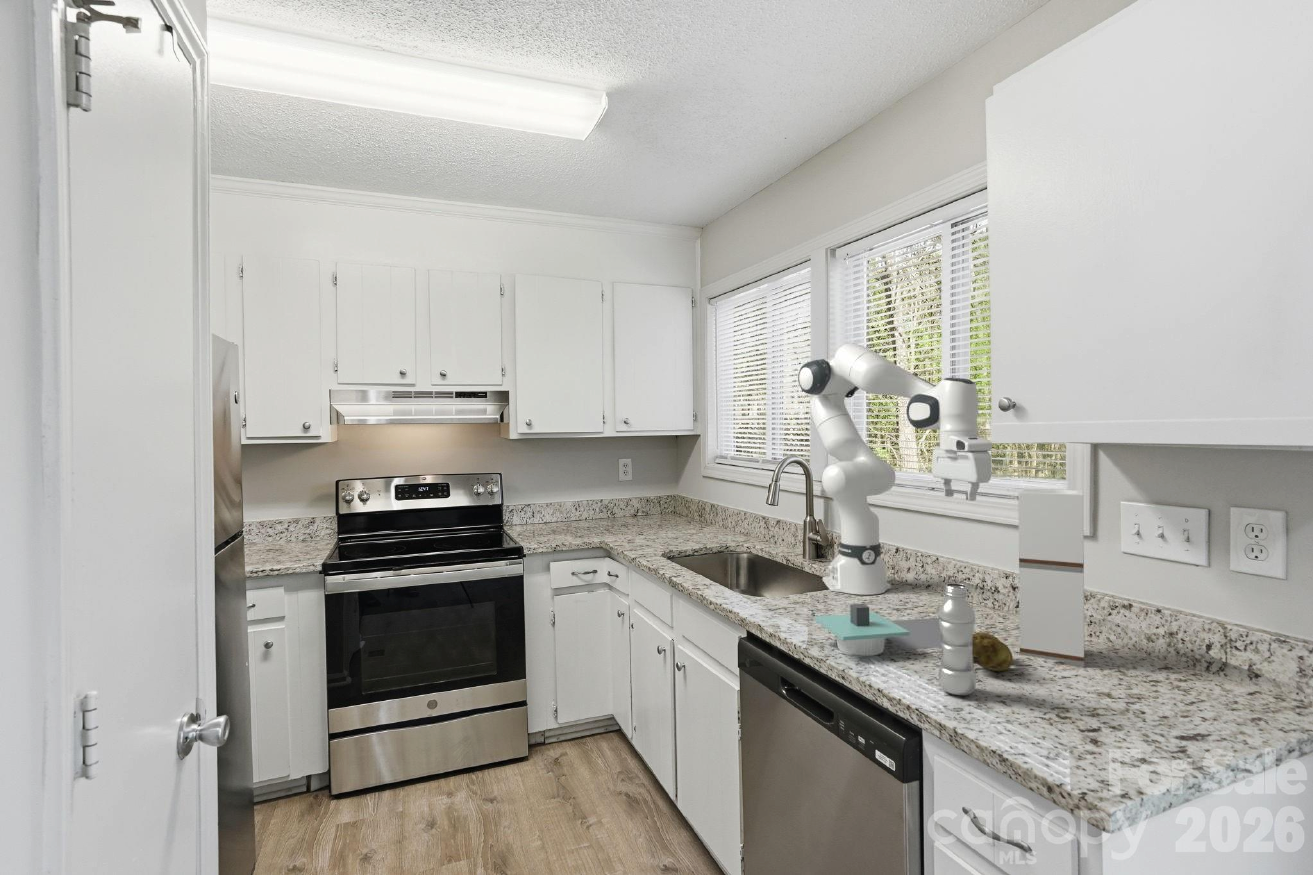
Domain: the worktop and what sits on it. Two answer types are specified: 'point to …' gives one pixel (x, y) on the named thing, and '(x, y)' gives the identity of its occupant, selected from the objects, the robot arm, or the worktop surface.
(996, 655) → the potato
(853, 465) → the robot arm
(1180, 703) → the worktop surface
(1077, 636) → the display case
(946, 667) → the plastic bottle
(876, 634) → the lid
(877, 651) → the ramekin
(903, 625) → the mat
